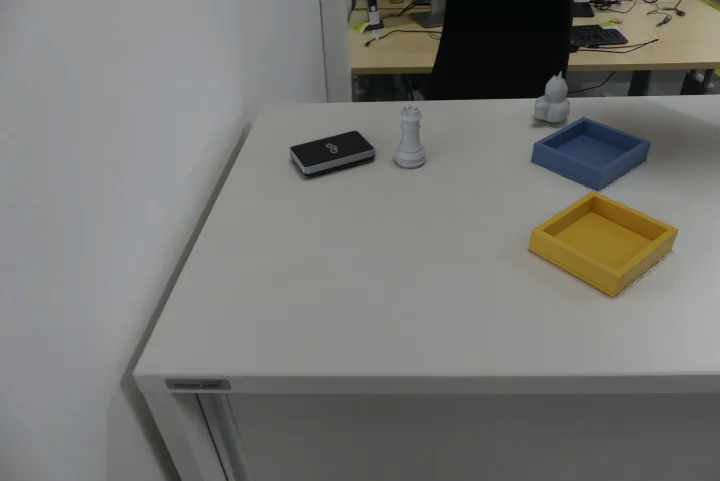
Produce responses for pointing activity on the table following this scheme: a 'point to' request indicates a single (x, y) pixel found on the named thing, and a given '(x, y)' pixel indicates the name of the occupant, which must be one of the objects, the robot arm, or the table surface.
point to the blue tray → (590, 152)
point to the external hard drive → (332, 153)
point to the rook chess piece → (410, 139)
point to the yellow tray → (602, 242)
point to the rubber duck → (553, 101)
